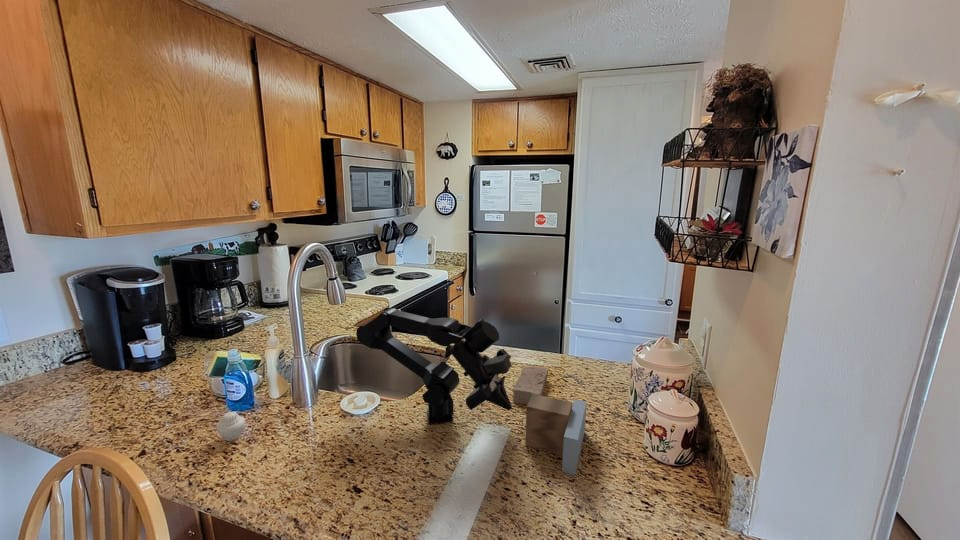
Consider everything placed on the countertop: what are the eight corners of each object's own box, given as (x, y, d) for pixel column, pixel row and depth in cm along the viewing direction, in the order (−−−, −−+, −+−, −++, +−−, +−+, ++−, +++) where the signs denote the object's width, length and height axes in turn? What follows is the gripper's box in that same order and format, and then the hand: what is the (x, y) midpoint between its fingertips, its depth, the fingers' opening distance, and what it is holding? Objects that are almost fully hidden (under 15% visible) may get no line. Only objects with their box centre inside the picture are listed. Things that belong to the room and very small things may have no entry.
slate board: (561, 471, 85) (563, 436, 83) (572, 429, 100) (574, 399, 98) (575, 475, 84) (577, 440, 82) (584, 432, 99) (586, 401, 97)
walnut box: (525, 445, 94) (526, 406, 91) (531, 431, 99) (532, 393, 97) (565, 456, 90) (568, 415, 88) (570, 440, 96) (572, 402, 93)
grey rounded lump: (251, 435, 98) (247, 411, 96) (225, 448, 93) (221, 423, 91) (240, 426, 101) (236, 403, 100) (214, 439, 96) (209, 414, 95)
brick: (539, 408, 110) (540, 393, 109) (511, 403, 112) (512, 388, 111) (547, 381, 125) (548, 368, 124) (523, 377, 128) (523, 364, 127)
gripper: (478, 360, 86) (523, 414, 85) (504, 331, 103) (542, 376, 101) (447, 384, 91) (489, 436, 89) (477, 352, 108) (512, 395, 106)
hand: (510, 408), depth 96 cm, fingers closed
